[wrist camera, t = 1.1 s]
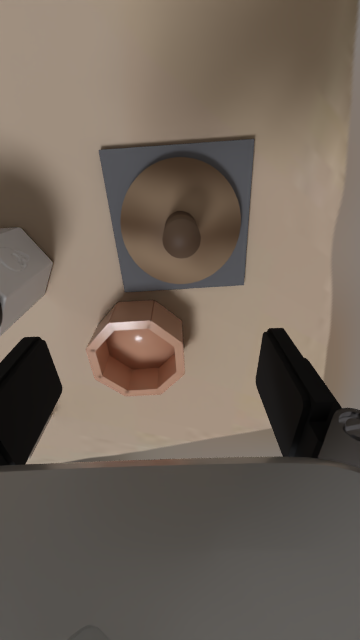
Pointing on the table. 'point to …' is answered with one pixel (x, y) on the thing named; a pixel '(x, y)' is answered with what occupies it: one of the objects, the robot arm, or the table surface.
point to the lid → (180, 220)
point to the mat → (130, 162)
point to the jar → (20, 275)
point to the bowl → (138, 349)
